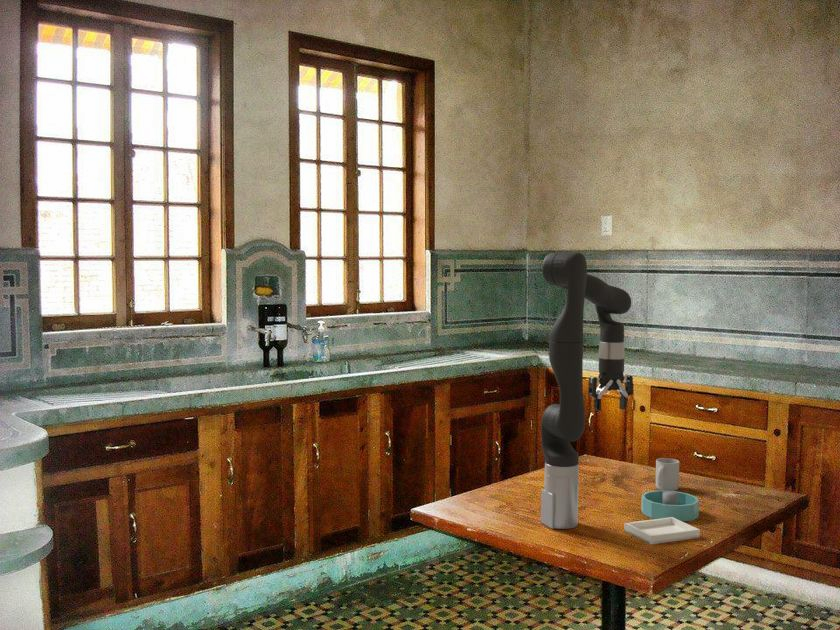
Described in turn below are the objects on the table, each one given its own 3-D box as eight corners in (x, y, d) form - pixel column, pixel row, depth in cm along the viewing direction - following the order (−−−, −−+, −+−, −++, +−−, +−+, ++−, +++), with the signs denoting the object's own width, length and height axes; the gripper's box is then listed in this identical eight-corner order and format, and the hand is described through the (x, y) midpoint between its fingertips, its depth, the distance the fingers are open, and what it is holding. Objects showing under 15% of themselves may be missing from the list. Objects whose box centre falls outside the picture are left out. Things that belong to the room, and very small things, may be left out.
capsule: (668, 513, 247) (669, 496, 247) (659, 509, 251) (659, 492, 251) (681, 511, 249) (681, 494, 249) (671, 507, 253) (671, 490, 253)
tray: (650, 544, 223) (650, 536, 223) (624, 531, 234) (624, 523, 234) (699, 537, 229) (699, 529, 229) (671, 524, 240) (672, 517, 239)
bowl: (664, 523, 240) (664, 508, 240) (631, 508, 255) (631, 493, 254) (709, 518, 246) (710, 502, 246) (674, 503, 260) (675, 488, 260)
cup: (682, 487, 278) (683, 460, 277) (669, 494, 270) (670, 466, 269) (661, 483, 282) (661, 457, 282) (647, 490, 275) (648, 462, 274)
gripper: (597, 359, 253) (596, 413, 254) (639, 357, 258) (637, 411, 259) (584, 356, 260) (583, 409, 261) (624, 354, 265) (623, 406, 266)
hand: (610, 410), depth 260 cm, fingers open, 8 cm apart
